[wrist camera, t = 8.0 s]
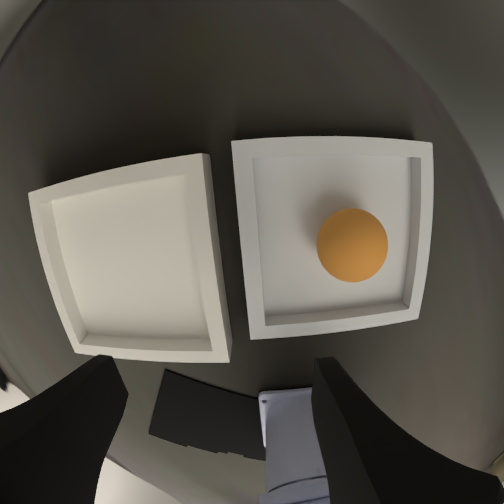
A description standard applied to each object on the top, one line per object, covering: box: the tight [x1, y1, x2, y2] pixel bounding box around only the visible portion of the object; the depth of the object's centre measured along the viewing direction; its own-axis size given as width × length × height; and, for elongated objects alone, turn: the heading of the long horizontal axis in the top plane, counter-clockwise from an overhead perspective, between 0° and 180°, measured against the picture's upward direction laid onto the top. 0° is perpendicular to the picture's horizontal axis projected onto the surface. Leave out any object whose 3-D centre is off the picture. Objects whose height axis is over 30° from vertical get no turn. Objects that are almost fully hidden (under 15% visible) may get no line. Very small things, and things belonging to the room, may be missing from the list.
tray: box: [231, 136, 433, 340], centre depth 16 cm, size 12×12×2 cm
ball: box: [316, 208, 388, 282], centre depth 14 cm, size 4×4×4 cm
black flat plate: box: [149, 369, 266, 461], centre depth 24 cm, size 12×1×30 cm
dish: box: [28, 153, 233, 363], centre depth 17 cm, size 13×13×2 cm
